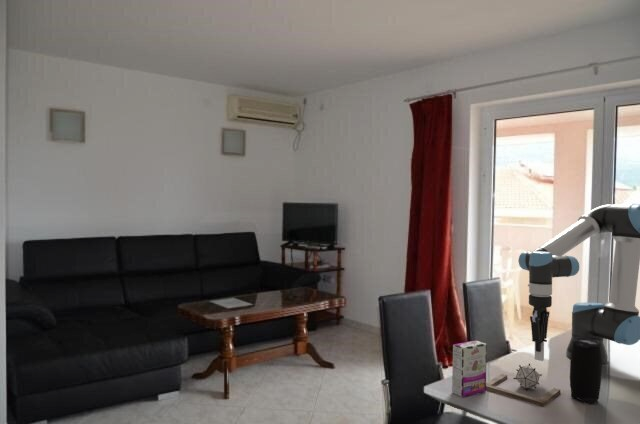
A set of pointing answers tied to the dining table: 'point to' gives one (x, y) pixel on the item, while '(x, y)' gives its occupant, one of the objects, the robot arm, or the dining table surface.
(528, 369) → the game die
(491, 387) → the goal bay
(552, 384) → the dining table surface
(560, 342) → the dining table surface
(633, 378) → the dining table surface
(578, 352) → the portable speaker
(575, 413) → the dining table surface
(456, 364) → the candy bar box
